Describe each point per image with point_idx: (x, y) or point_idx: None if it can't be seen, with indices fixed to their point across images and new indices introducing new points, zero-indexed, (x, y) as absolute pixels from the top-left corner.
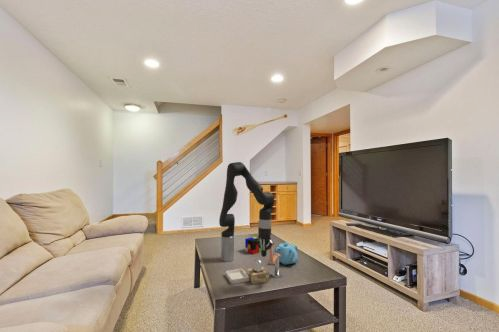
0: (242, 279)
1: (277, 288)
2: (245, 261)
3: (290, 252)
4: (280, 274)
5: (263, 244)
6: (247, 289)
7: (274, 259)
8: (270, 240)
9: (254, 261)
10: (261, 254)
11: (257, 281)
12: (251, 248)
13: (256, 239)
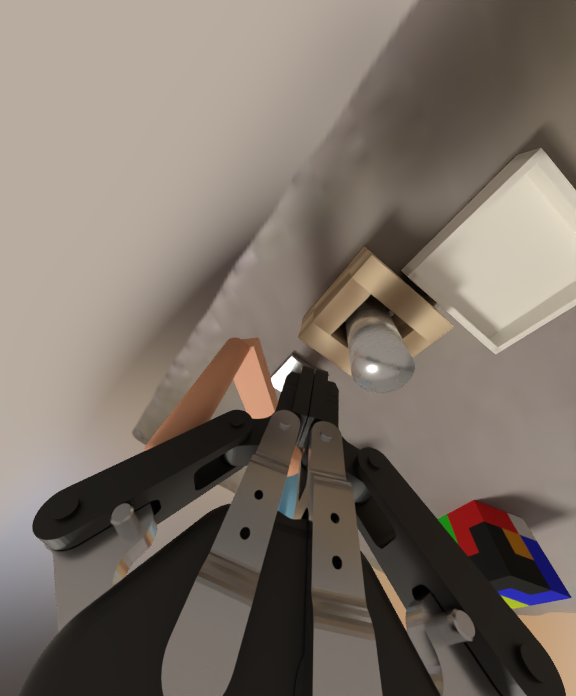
0: (448, 232)
1: (236, 274)
2: (494, 443)
3: (281, 511)
4: (282, 385)
5: (267, 499)
6: (374, 159)
7: (246, 396)
8: (68, 622)
9: (407, 350)
10: (335, 386)
11: (346, 269)
12: (496, 531)
13: (510, 662)
